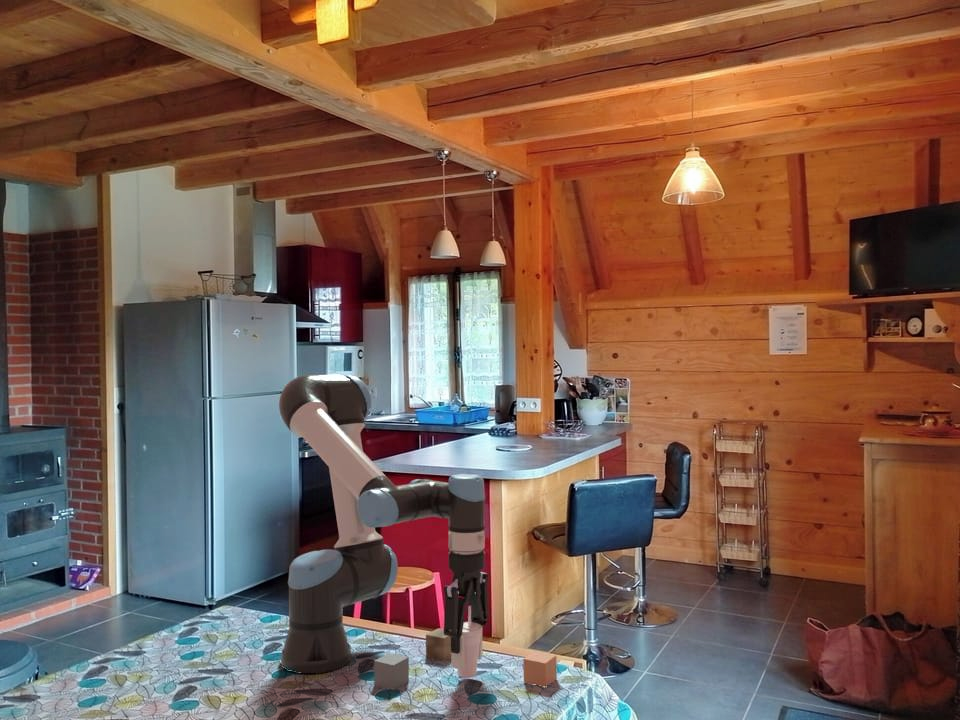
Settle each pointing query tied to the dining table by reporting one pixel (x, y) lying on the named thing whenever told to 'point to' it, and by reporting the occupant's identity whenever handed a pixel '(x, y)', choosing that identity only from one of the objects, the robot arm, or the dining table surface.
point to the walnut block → (438, 645)
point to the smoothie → (470, 646)
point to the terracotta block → (540, 668)
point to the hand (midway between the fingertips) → (467, 662)
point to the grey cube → (391, 671)
